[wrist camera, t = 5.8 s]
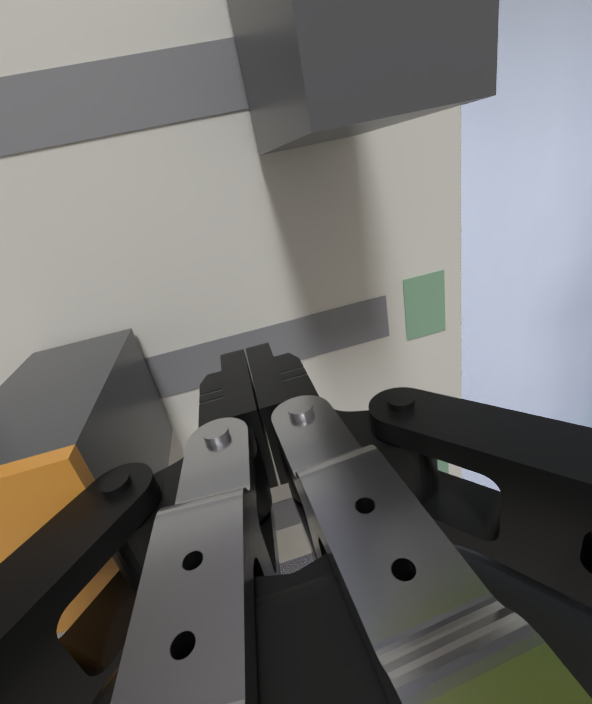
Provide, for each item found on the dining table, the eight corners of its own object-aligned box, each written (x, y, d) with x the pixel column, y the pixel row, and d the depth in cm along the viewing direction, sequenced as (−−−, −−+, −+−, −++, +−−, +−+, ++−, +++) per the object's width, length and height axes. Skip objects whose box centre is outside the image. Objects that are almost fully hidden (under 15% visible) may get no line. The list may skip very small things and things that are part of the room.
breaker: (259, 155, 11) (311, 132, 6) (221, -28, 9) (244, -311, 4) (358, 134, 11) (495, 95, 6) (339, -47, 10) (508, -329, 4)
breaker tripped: (87, 453, 14) (4, 651, 8) (32, 352, 12) (-126, 513, 6) (172, 429, 14) (151, 602, 8) (131, 328, 12) (68, 458, 6)
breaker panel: (126, 576, 19) (118, 618, 17) (-205, 25, 10) (-300, -10, 8) (439, 475, 21) (462, 503, 19) (420, -68, 12) (461, -113, 10)
